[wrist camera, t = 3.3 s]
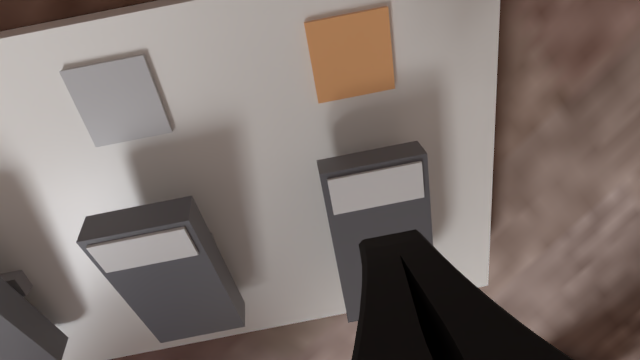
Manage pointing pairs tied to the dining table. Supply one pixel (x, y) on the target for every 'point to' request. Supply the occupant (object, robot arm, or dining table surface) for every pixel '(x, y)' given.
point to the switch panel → (235, 142)
